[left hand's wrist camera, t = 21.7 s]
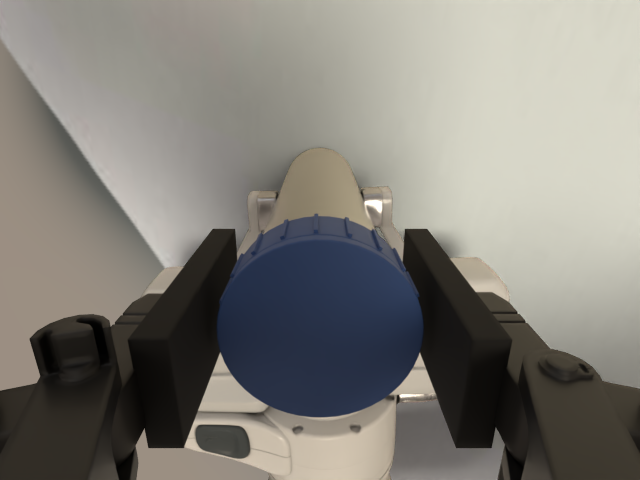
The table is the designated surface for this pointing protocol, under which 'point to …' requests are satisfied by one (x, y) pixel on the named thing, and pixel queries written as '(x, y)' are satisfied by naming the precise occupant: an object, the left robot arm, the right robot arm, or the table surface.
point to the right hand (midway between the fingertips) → (318, 190)
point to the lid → (320, 318)
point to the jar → (319, 190)
